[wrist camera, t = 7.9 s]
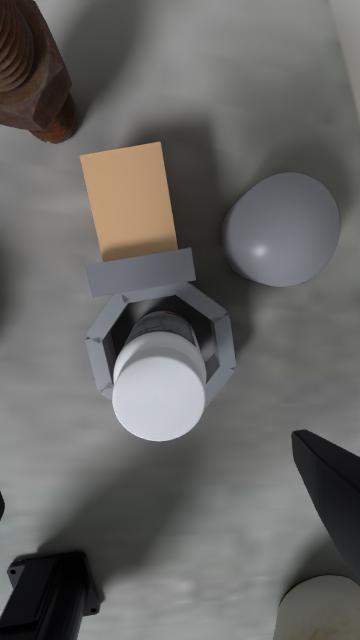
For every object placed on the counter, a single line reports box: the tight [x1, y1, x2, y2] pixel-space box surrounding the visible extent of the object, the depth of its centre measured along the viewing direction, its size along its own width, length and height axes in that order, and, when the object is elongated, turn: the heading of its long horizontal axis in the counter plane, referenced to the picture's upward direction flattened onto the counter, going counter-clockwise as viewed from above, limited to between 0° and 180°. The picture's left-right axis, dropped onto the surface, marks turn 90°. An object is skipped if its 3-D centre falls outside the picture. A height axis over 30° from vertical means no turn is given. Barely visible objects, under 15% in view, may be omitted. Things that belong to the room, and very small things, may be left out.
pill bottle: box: [112, 311, 206, 441], centre depth 16 cm, size 5×5×8 cm
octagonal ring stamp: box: [80, 142, 236, 410], centre depth 17 cm, size 16×9×5 cm, turn 9°
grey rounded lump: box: [221, 172, 340, 287], centre depth 17 cm, size 6×6×4 cm
